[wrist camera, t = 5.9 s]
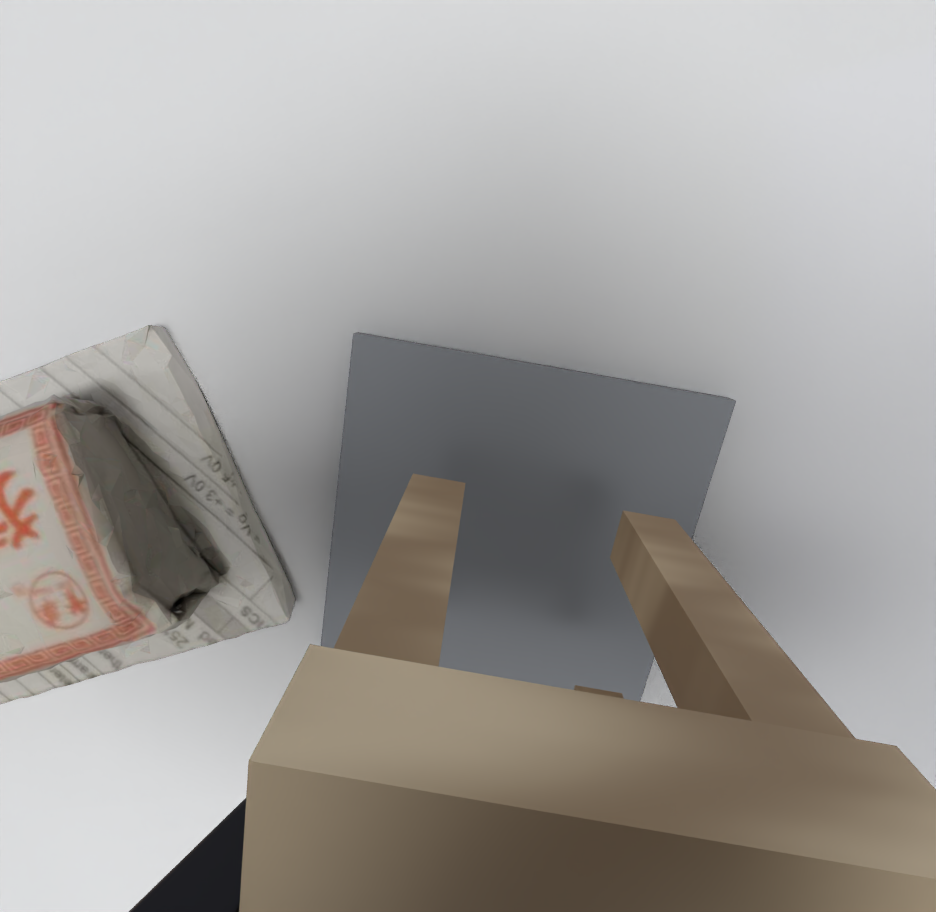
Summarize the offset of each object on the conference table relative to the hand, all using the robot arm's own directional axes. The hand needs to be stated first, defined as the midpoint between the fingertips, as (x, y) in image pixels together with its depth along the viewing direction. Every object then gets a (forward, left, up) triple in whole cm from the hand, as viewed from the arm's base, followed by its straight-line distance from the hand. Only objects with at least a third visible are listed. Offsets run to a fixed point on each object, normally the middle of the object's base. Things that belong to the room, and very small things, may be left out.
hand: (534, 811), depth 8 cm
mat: (0, 0, -10) cm, 10 cm away
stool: (0, 0, -5) cm, 5 cm away
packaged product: (+17, +4, -10) cm, 20 cm away
